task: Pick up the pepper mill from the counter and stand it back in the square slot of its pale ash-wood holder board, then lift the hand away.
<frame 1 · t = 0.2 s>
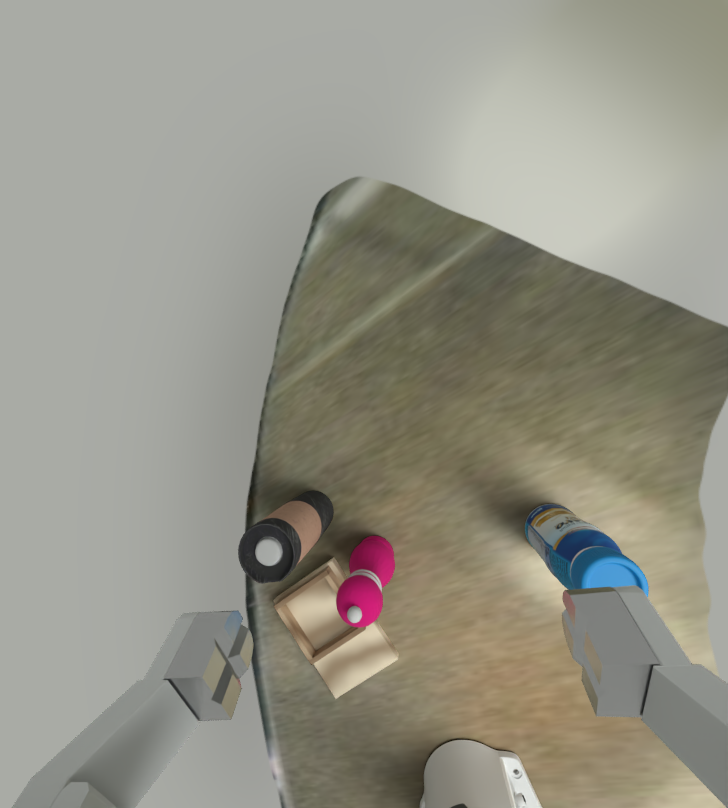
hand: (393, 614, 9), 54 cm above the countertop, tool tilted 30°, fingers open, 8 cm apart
travel mug: (314, 510, 65), on the countertop
beverage bottle: (550, 528, 59), on the countertop
pepper mill: (375, 553, 63), on the countertop
mill holder: (335, 624, 64), on the countertop
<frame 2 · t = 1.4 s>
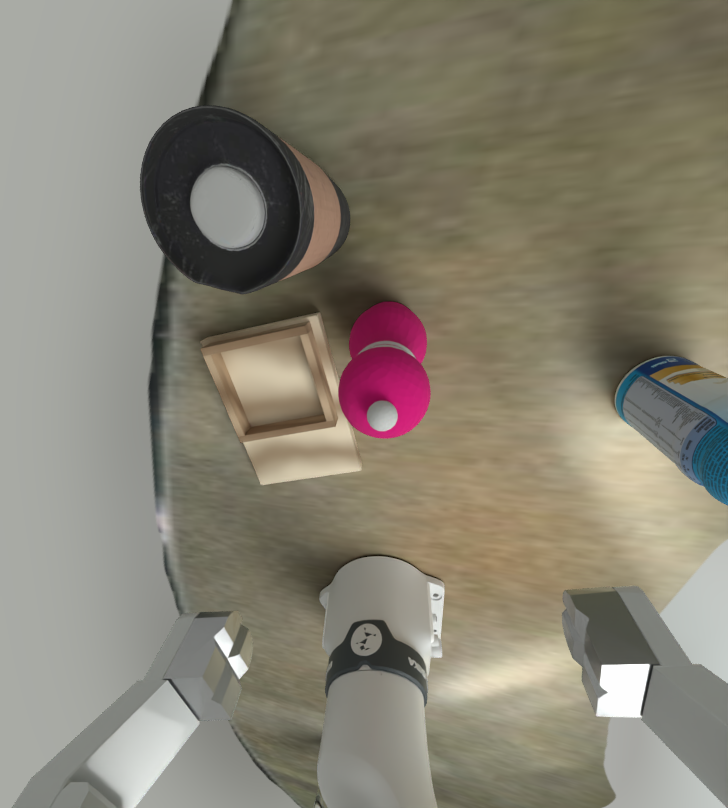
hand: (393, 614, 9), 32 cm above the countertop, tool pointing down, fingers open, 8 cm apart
travel mug: (313, 218, 35), on the countertop
beverage bottle: (652, 390, 39), on the countertop
pepper mill: (388, 331, 39), on the countertop
mill holder: (289, 404, 43), on the countertop
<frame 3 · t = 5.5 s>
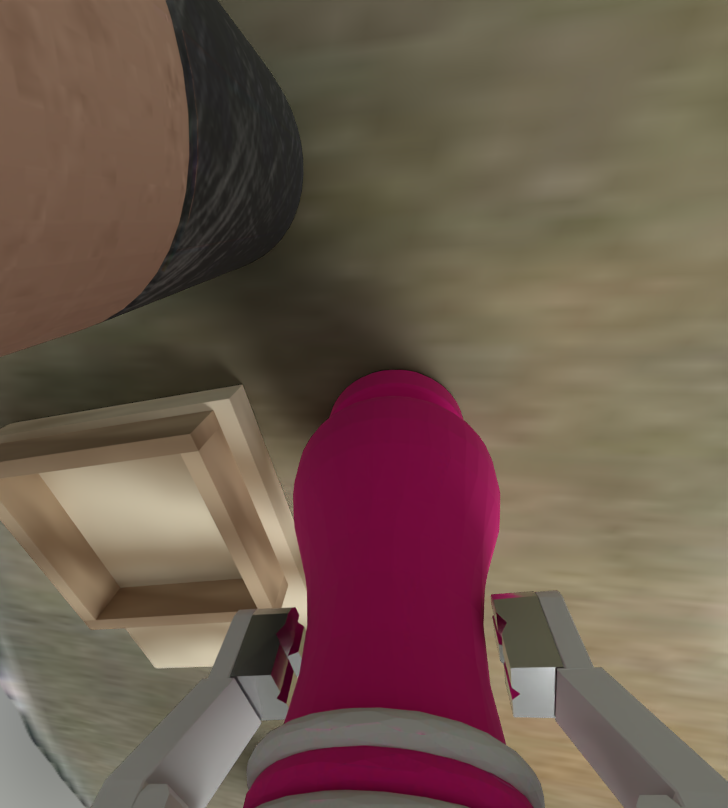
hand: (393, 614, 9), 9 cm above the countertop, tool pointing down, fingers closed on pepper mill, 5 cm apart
travel mug: (209, 163, 13), on the countertop
pepper mill: (395, 427, 18), on the countertop, touching gripper
mill holder: (196, 545, 22), on the countertop
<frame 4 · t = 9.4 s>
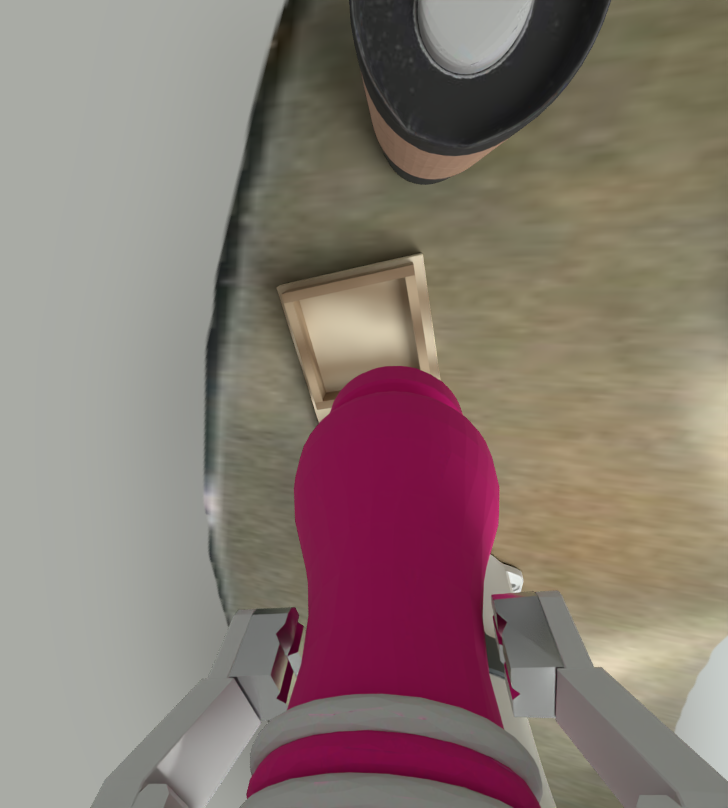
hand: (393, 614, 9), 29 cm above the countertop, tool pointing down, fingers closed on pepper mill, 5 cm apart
travel mug: (427, 131, 28), on the countertop
pepper mill: (395, 423, 18), point 19 cm above the countertop, touching gripper
mill holder: (371, 366, 37), on the countertop
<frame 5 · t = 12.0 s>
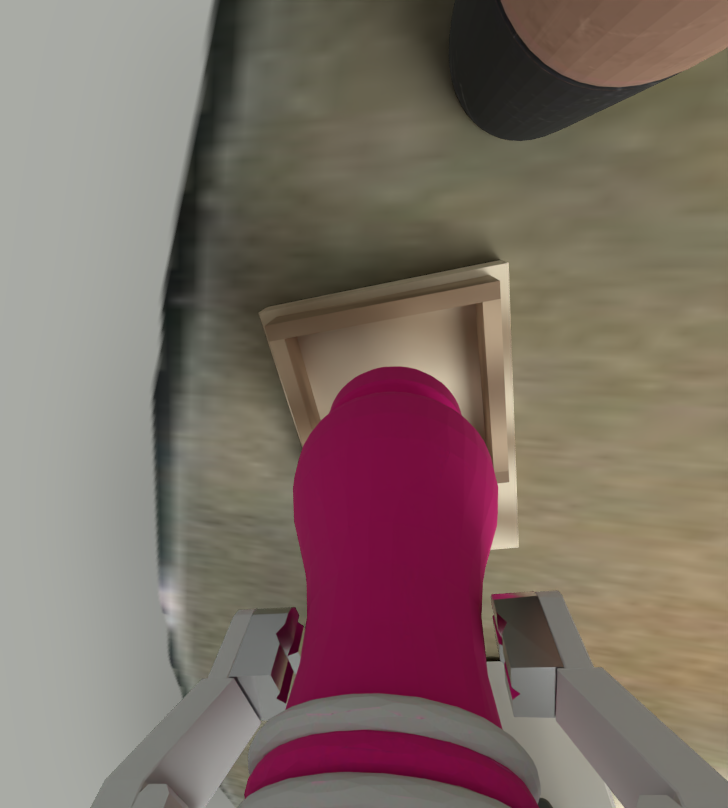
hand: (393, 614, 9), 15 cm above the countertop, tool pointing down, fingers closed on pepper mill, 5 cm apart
travel mug: (532, 41, 16), on the countertop
pepper mill: (394, 424, 18), point 6 cm above the countertop, touching gripper
mill holder: (404, 432, 24), on the countertop
when the fingers open (12 cm above the countertop, at t = 13.5 s): pepper mill drops 1 cm, resting on mill holder.
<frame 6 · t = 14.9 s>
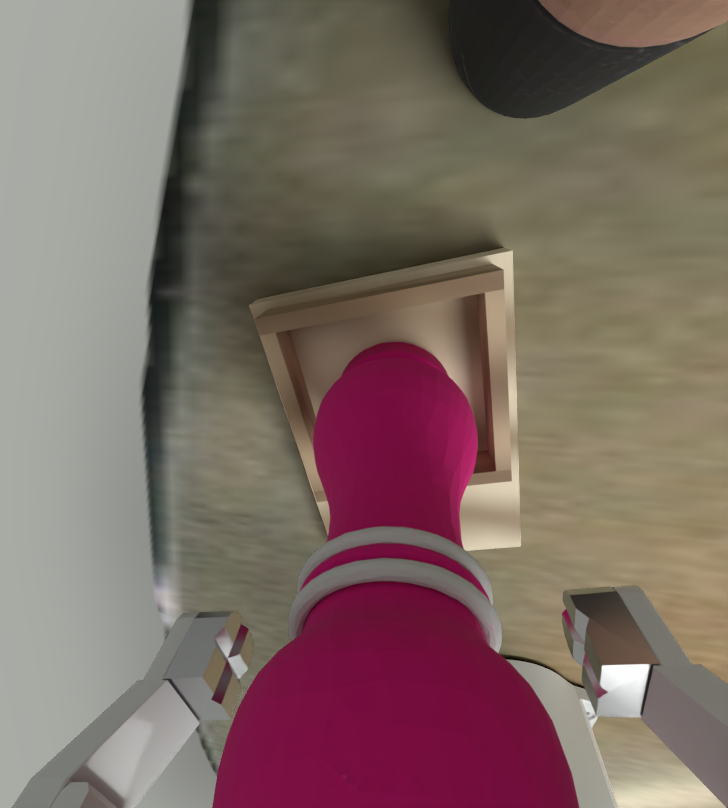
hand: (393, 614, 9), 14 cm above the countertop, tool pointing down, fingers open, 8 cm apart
travel mug: (540, 7, 14), on the countertop
pepper mill: (394, 393, 21), point 1 cm above the countertop, touching mill holder
mill holder: (403, 429, 23), on the countertop
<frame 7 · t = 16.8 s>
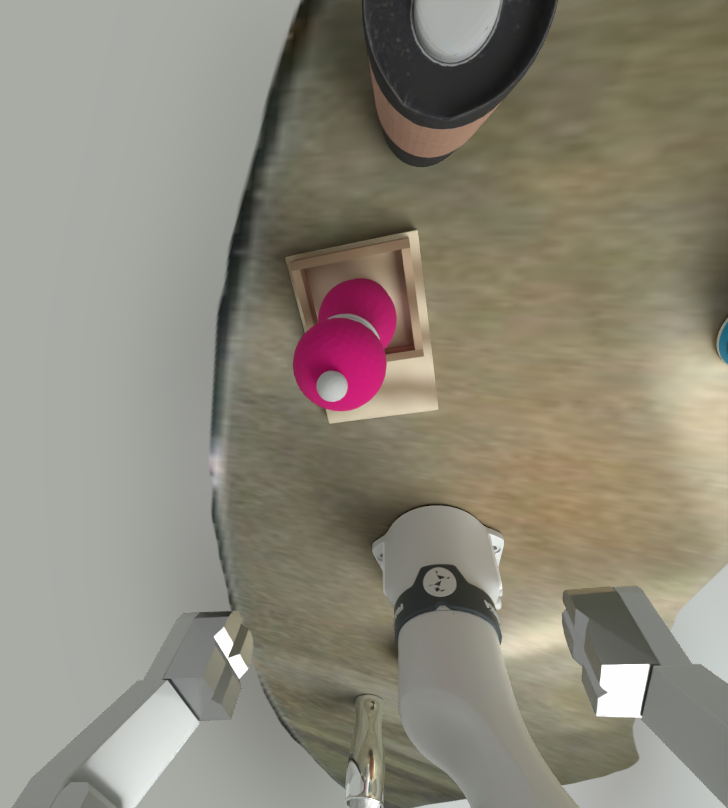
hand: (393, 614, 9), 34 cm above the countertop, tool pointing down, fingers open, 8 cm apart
travel mug: (424, 119, 32), on the countertop
beer glass: (369, 700, 76), on the countertop
pepper mill: (361, 309, 38), point 1 cm above the countertop, touching mill holder
mill holder: (368, 335, 41), on the countertop
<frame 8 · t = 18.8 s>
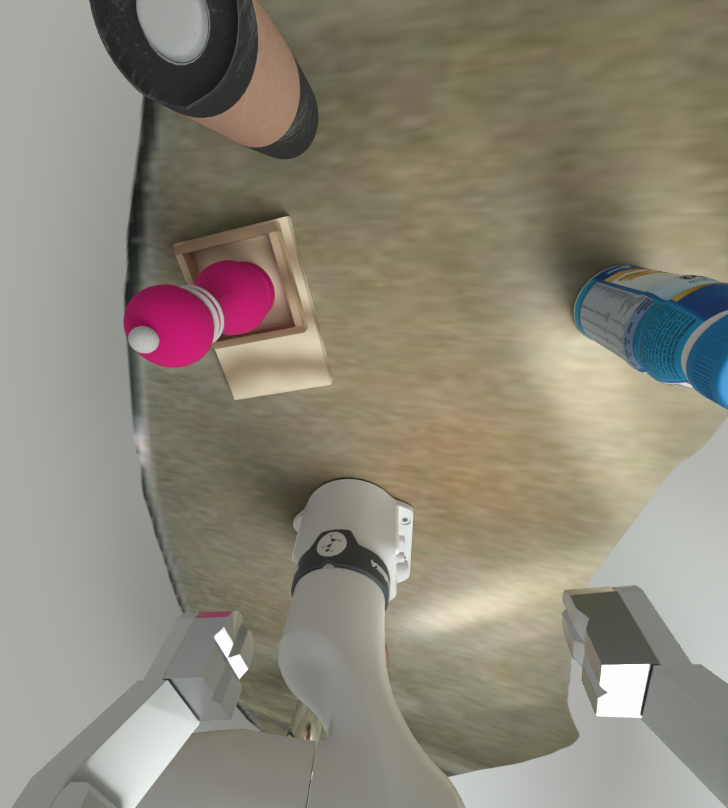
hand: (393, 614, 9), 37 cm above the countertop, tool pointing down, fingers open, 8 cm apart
travel mug: (282, 116, 35), on the countertop
beer glass: (315, 679, 79), on the countertop
beverage bottle: (610, 303, 41), on the countertop
pepper mill: (248, 290, 42), point 1 cm above the countertop, touching mill holder
mill holder: (261, 316, 44), on the countertop
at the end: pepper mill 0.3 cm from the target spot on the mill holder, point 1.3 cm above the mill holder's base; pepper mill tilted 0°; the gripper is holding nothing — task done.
